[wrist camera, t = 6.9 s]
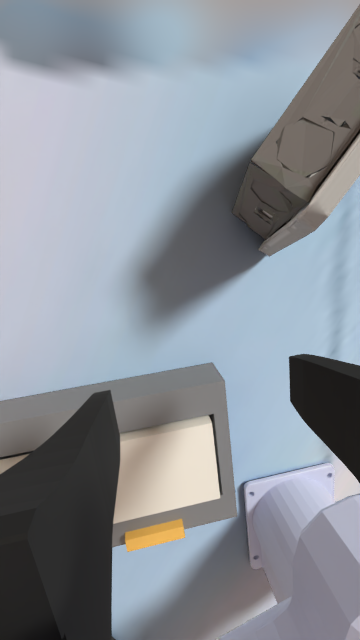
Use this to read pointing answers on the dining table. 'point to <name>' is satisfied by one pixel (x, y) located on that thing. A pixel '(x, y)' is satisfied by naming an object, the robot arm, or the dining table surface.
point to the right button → (166, 468)
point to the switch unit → (136, 413)
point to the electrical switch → (308, 151)
